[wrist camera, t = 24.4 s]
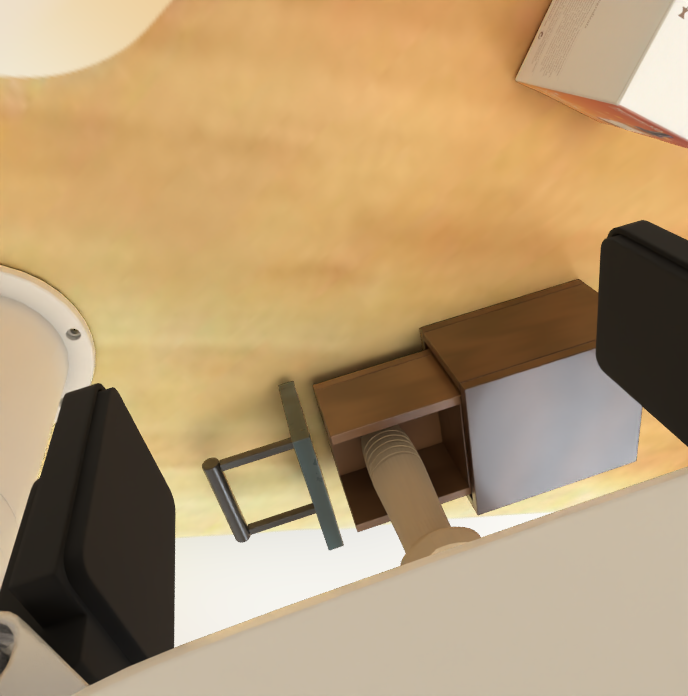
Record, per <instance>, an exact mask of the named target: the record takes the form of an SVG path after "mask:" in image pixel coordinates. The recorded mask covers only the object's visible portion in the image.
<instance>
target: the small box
mask: <svg viewBox="0 0 688 696" xmlns="http://www.w3.org/2000/svg"><path fill="white" fill-rule="evenodd" d="M515 81H516V82H518V83H521V84H523V85H525V86H527V87H530V88H532V89H534V90H536V91H538V92H541V93H543V94H545V95H547V96H549V97H551V98H553V99H555V100H557V101H559V102H561V103H563V104H565V105H567V106H569V107H570V108H572V109H574V110H576V111H578V112H580V113H582V114H584V115H586V116H588V117H590V118H592V119H594V120H596V121H598V122H600V123H604V124H608V125H612V126H615V127H619V128H622V129H625V130H629V131H632V132H635V133H638V134H641V135H645V136H649V137H652V138H656V139H659V140H662V141H665V142H668V143H671V144H675V145H678V146H682V147H685V148H688V0H552V2H551V5H550V7H549V9H548V11H547V13H546V15H545V17H544V19H543V21H542V24H541V26H540V28H539V30H538V32H537V34H536V36H535V38H534V41H533V43H532V45H531V47H530V49H529V51H528V53H527V56H526V58H525V60H524V62H523V64H522V66H521V68H520V70H519V72H518V74H517V76H516V79H515Z"/></svg>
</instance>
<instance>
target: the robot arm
mask: <svg viewBox="0 0 688 696" xmlns="http://www.w3.org/2000/svg"><path fill="white" fill-rule="evenodd" d="M72 329H76V330H78V331H74V330H72ZM95 358H96V351H95V346H94V341H93V337H92V334H91V332H90V330H89V328H88V325H87V323H86V321H85V320H84V318H83V317H82V316H81V314H80V313H79V311H78V310H77V309H76V307H75V306H74V305H73V304H72V303H71V302H70V301H69V300H68V299H67V298H66V297H64V296H63V295H62V294H61V293H60V292H59V291H57V290H56V289H54V288H53V287H51V286H50V285H48V284H47V283H45V282H44V281H42V280H40V279H38V278H36V277H34V276H31V275H29V274H27V273H25V272H22V271H19V270H16V269H12V268H9V267H6V266H2V265H0V696H688V467H685V468H682V469H679V470H676V471H673V472H670V473H667V474H664V475H662V476H659V477H656V478H653V479H650V480H647V481H644V482H641V483H638V484H635V485H632V486H629V487H626V488H623V489H620V490H618V491H615V492H612V493H609V494H606V495H603V496H600V497H597V498H594V499H591V500H589V501H586V502H583V503H580V504H577V505H574V506H571V507H568V508H565V509H563V510H560V511H557V512H554V513H551V514H548V515H545V516H542V517H540V518H537V519H534V520H531V521H528V522H525V523H522V524H519V525H516V526H513V527H511V528H508V529H505V530H502V531H499V532H496V533H493V534H490V535H487V536H485V537H482V538H479V539H476V540H473V541H470V542H467V543H464V544H462V545H459V546H456V547H453V548H450V549H447V550H444V551H441V552H439V553H436V554H433V555H430V556H427V557H424V558H422V559H419V560H416V561H413V562H410V563H407V564H405V565H402V566H399V567H396V568H393V569H390V570H388V571H385V572H382V573H379V574H376V575H373V576H371V577H368V578H365V579H362V580H359V581H356V582H354V583H351V584H348V585H345V586H342V587H339V588H336V589H334V590H331V591H328V592H325V593H322V594H320V595H317V596H314V597H311V598H308V599H306V600H302V601H300V602H297V603H294V604H291V605H288V606H285V607H283V608H280V609H278V610H275V611H272V612H269V613H267V614H264V615H261V616H258V617H256V618H253V619H250V620H248V621H245V622H242V623H240V624H237V625H234V626H232V627H229V628H226V629H223V630H221V631H218V632H215V633H213V634H210V635H207V636H204V637H202V638H199V639H196V640H194V641H191V642H188V643H186V644H183V645H180V646H178V647H175V648H174V597H175V594H174V593H175V590H174V589H175V504H174V499H173V496H172V493H171V491H170V489H169V487H168V485H167V483H166V481H165V479H164V477H163V476H162V474H161V472H160V470H159V468H158V466H157V464H156V462H155V460H154V459H153V457H152V455H151V453H150V451H149V449H148V447H147V445H146V443H145V442H144V440H143V438H142V436H141V434H140V432H139V430H138V428H137V426H136V425H135V423H134V421H133V419H132V417H131V415H130V413H129V411H128V410H127V408H126V406H125V404H124V402H123V400H122V398H121V396H120V394H119V393H118V391H117V390H116V389H115V388H113V387H112V388H109V389H105V387H104V386H103V385H102V384H99V383H97V384H94V385H91V386H90V384H91V382H92V379H93V374H94V370H95ZM596 360H597V363H598V365H599V367H600V368H601V370H602V371H603V372H604V373H605V374H606V375H607V376H609V377H610V378H611V379H612V380H613V381H614V382H615V383H616V384H618V385H619V386H620V387H621V388H622V389H623V390H624V391H625V392H627V393H628V394H629V395H630V396H631V397H632V398H633V399H635V400H636V401H637V402H638V403H639V404H640V405H641V406H642V407H644V408H645V409H646V410H647V411H648V412H649V413H650V414H651V415H653V416H654V417H655V418H656V419H657V420H658V421H659V422H661V423H662V424H663V425H664V426H665V427H666V428H667V429H668V430H670V431H671V432H672V433H673V434H674V435H675V436H676V437H677V438H679V439H680V440H681V441H682V442H683V443H684V444H685V445H686V446H688V240H686V239H684V238H682V237H679V236H677V235H675V234H673V233H671V232H669V231H667V230H665V229H663V228H661V227H659V226H657V225H654V224H652V223H650V222H648V221H645V220H641V221H637V222H634V223H630V224H627V225H624V226H620V227H617V228H614V229H612V230H611V231H610V232H609V234H608V237H607V238H606V239H605V240H604V241H603V242H602V244H601V255H600V274H599V294H598V314H597V334H596ZM54 423H56V425H55V428H54V432H53V435H52V439H51V442H50V445H49V449H48V452H47V456H46V459H45V463H44V466H43V469H42V473H41V476H40V478H39V479H38V480H37V477H38V474H39V470H40V467H41V464H42V460H43V457H44V454H45V450H46V447H47V443H48V440H49V437H50V433H51V430H52V427H53V424H54Z"/></svg>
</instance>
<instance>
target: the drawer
mask: <svg viewBox="0 0 688 696" xmlns="http://www.w3.org/2000/svg"><path fill="white" fill-rule="evenodd" d="M278 387H279V391H280V395H281V399H282V403H283V407H284V411H285V415H286V419H287V423H288V427H289V431H290V435H291V438H288V439H285V440H282V441H278V442H275V443H272V444H269V445H266V446H263V447H260V448H256V449H253V450H250V451H247V452H244V453H241V454H238V455H234V456H231V457H228V458H225V459H222V460H220V461H218V459H216V458H209V459H207V460H206V461H204V463H203V464H202V468H203V471H204V473H205V475H206V477H207V479H208V481H209V483H210V485H211V488H212V490H213V492H214V494H215V496H216V498H217V500H218V502H219V505H220V507H221V509H222V511H223V513H224V515H225V517H226V519H227V522H228V524H229V526H230V528H231V530H232V532H233V534H234V536H235V539H236V540H237V541H238V542H245V541H247V540H248V539H249V537H250V535H252V534H255V533H258V532H261V531H264V530H267V529H270V528H273V527H276V526H279V525H282V524H285V523H288V522H291V521H294V520H297V519H300V518H303V517H306V516H309V515H312V514H315V513H316V514H317V517H318V520H319V523H320V526H321V529H322V531H323V534H324V537H325V540H326V543H327V546H328V549H329V550H332V549H335V548H338V547H341V546H343V545H344V544H343V541H342V538H341V534H340V531H339V528H338V524H337V521H336V517H335V514H334V511H333V507H332V504H331V501H330V497H329V494H328V491H327V487H326V484H325V481H324V478H323V474H322V471H321V468H320V465H319V462H318V458H317V455H316V452H315V449H314V446H313V442H312V439H311V436H310V433H309V429H308V426H307V423H306V420H305V417H304V413H303V410H302V407H301V404H300V401H299V397H298V394H297V391H296V388H295V385H294V382H293V381H291V382H288V383H284V384H281V385H278ZM313 388H314V391H315V395H316V398H317V402H318V405H319V409H320V412H321V416H322V419H323V422H324V426H325V429H326V433H327V436H328V440H329V443H330V447H331V450H332V453H333V457H334V460H335V464H336V467H337V471H338V474H339V477H340V480H341V483H342V486H343V489H344V492H345V495H346V499H347V502H348V505H349V508H350V511H351V514H352V517H353V520H354V523H355V526H356V529H357V531H358V532H360V531H363V530H366V529H369V528H372V527H375V526H378V525H381V524H383V523H386V522H389V521H391V520H390V518H389V516H388V514H387V512H386V510H385V508H384V506H383V504H382V502H381V500H380V498H379V496H378V494H377V492H376V490H375V488H374V486H373V483H372V480H371V478H370V475H369V473H368V470H367V467H366V463H365V460H364V457H363V452H362V447H361V437H360V436H363V435H366V434H369V433H372V432H375V431H378V430H382V429H385V428H388V427H391V426H394V425H397V424H398V425H399V426H400V427H401V428H402V430H403V431H404V432H405V433H406V435H407V436H408V438H409V439H410V441H411V442H412V444H413V445H414V447H415V449H416V450H417V452H418V454H419V456H420V458H421V460H422V462H423V464H424V466H425V468H426V471H427V473H428V475H429V478H430V480H431V483H432V485H433V487H434V490H435V492H436V494H437V497H438V499H439V501H440V504H443V503H446V502H449V501H451V500H454V499H457V498H460V497H463V496H466V495H469V494H472V488H471V479H470V470H469V461H468V452H467V443H466V434H465V425H464V416H463V407H462V398H461V392H460V390H459V389H458V388H457V386H456V385H455V383H454V382H453V381H452V379H451V378H450V376H449V375H448V373H447V372H446V371H445V369H444V368H443V366H442V365H441V364H440V362H439V361H438V359H437V358H436V357H435V355H434V354H433V352H432V351H431V350H430V349H427V350H424V351H421V352H417V353H414V354H411V355H408V356H405V357H401V358H398V359H395V360H392V361H389V362H385V363H382V364H379V365H376V366H372V367H369V368H366V369H363V370H360V371H356V372H353V373H350V374H347V375H344V376H340V377H337V378H334V379H331V380H327V381H324V382H321V383H318V384H315V385H313ZM291 449H295V452H296V455H297V458H298V461H299V464H300V467H301V470H302V472H303V475H304V478H305V481H306V484H307V487H308V490H309V493H310V496H311V499H312V502H313V503H311V504H308V505H305V506H302V507H299V508H296V509H293V510H290V511H287V512H284V513H281V514H278V515H275V516H272V517H269V518H266V519H263V520H260V521H257V522H254V523H251V524H248V526H247V523H246V521H245V519H244V517H243V514H242V512H241V510H240V508H239V505H238V503H237V501H236V499H235V496H234V494H233V492H232V490H231V488H230V485H229V483H228V481H227V479H226V476H225V474H224V472H223V471H225V470H228V469H231V468H234V467H238V466H241V465H244V464H247V463H250V462H253V461H256V460H259V459H263V458H266V457H269V456H272V455H275V454H278V453H281V452H284V451H287V450H291ZM219 462H220V463H219Z"/></svg>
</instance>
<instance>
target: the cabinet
mask: <svg viewBox="0 0 688 696" xmlns="http://www.w3.org/2000/svg"><path fill="white" fill-rule="evenodd" d="M598 294H599V293H598V292H596V291H595V290H593V289H592V288H591V287H589V286H588V285H586V284H584V282H582V281H581V280H579V279H578V280H574V281H571V282H568V283H565V284H561V285H558V286H555V287H552V288H548V289H545V290H542V291H539V292H535V293H532V294H529V295H526V296H522V297H519V298H516V299H513V300H509V301H506V302H503V303H500V304H496V305H493V306H490V307H487V308H483V309H480V310H477V311H473V312H470V313H467V314H464V315H460V316H457V317H454V318H451V319H447V320H444V321H441V322H438V323H434V324H431V325H428V326H425V327H421V328H420V334H421V341H422V347H423V351H424V350H427V349H430V350H431V351H432V352H433V354H434V355H435V357H436V358H437V359H438V361H439V362H440V364H441V365H442V366H443V368H444V369H445V371H446V372H447V373H448V375H449V376H450V378H451V379H452V381H453V382H454V383H455V385H456V386H457V388H458V389H459V390H460V392H461V398H462V407H463V416H464V425H465V434H466V443H467V452H468V461H469V470H470V479H471V488H472V494H469V495H466V496H467V497H468V499H469V501H470V503H471V504H472V506H473V508H474V510H475V511H476V513H477V515H480V514H483V513H486V512H489V511H492V510H495V509H498V508H501V507H504V506H507V505H510V504H513V503H515V502H518V501H521V500H524V499H527V498H530V497H533V496H536V495H539V494H542V493H545V492H548V491H551V490H553V489H556V488H559V487H562V486H565V485H568V484H571V483H574V482H577V481H580V480H583V479H586V478H589V477H591V476H594V475H597V474H600V473H603V472H606V471H609V470H612V469H615V468H618V467H621V466H624V465H627V464H629V463H632V462H635V461H636V460H637V451H638V442H639V433H640V424H641V415H642V406H641V405H640V404H639V403H638V402H637V401H636V400H635V399H633V398H632V397H631V396H630V395H629V394H628V393H627V392H625V391H624V390H623V389H622V388H621V387H620V386H619V385H618V384H616V383H615V382H614V381H613V380H612V379H611V378H610V377H609V376H607V375H606V374H605V373H604V372H603V371H602V370H601V368H600V367H599V365H598V363H597V360H596V334H597V314H598Z"/></svg>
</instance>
